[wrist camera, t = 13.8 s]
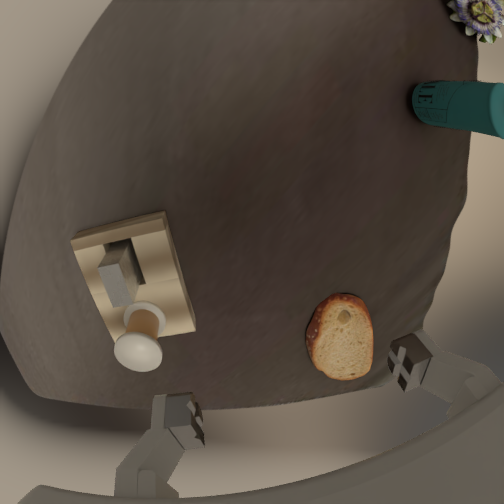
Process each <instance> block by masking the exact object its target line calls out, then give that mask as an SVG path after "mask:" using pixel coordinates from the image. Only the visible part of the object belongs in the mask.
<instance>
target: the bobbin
mask: <svg viewBox="0 0 504 504" xmlns="http://www.w3.org/2000/svg"><path fill="white" fill-rule="evenodd" d="M124 323H125V326H126V327H127V329H126V332H125V333H124V334H122V335H121V336H119V337H118V339H117V340H116V343H115V347H114V354H115V356H116V358H117V360H118V361H119V362H120V363H121V364H122V365H124V366H125V367H127V368H129V369H131V370H134V371H140V372H145V371H151V370H153V369H155V368H157V367H158V366H159V365H160V363H161V361H162V348H161V346H160V344H159V343H158V342H157V338H158V335H160V334H161V333H162V332H163V331H164V329H165V325H166V316H165V313H164V312H163V310H162V309H161V308H160V307H159V306H158V305H156V304H155V303H152V302H150V301H144V300H140V301H135V302H134V304H133V305H129V306H128V307H127V308H126V310H125V313H124Z"/></svg>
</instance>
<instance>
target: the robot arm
mask: <svg viewBox="0 0 504 504" xmlns="http://www.w3.org/2000/svg"><path fill="white" fill-rule="evenodd" d="M390 348H391V352H390V353H389V354H388V358H387V362H388V367H389V370H390V371H391V373H392V375H395V376H397V377H398V380H397V382H398V384H399V385H400V386H401V388H402V390H403V391H404V392H407V391H409V390H411V389H414V388H416V387H418V386H421V387H422V388H424V389H426V390H427V391H429V392H431V393H433V394H435V395H437V396H438V397H440V398H442V399H444V400H446V401H447V402H449V403H451V404H452V405H451V407H450V408H449V410H448V412H447V416H448V418H449V419H448V420H447V421H445V422H443V423H441V424H440V425H438V426H436V427H434V428H432V429H431V430H429V431H427V432H425V433H423V434H421V435H419V436H417V437H416V438H413V439H411V440H409V441H407V442H405V443H403V444H401V445H399V446H397V447H394V448H392V449H390V450H388V451H385V452H383V453H381V454H378V455H376V456H374V457H371V458H368V459H366V460H363V461H361V462H358V463H355V464H352V465H350V466H347V467H344V468H341V469H338V470H335V471H332V472H328V473H326V474H322V475H318V476H315V477H311V478H308V479H304V480H301V481H296V482H293V483H288V484H284V485H279V486H275V487H270V488H265V489H259V490H253V491H247V492H241V493H234V494H226V495H217V496H207V497H193V498H192V497H191V498H179V494H178V492H177V491H176V490H175V489H173V488H172V487H171V486H170V485H169V484H167V481H168V480H169V478H170V476H171V475H172V473H173V471H174V469H175V467H176V466H177V464H178V462H179V460H180V458H181V457H182V455H183V453H184V450H187V449H195V448H203V447H205V440H204V433H203V431H202V429H201V427H202V425H203V417H202V412H201V409H200V406H199V404H198V403H197V402H195V396H194V394H193V392H185V393H176V394H166V395H155V396H154V398H153V407H152V420H151V429H150V430H147V431H146V432H145V433H144V435H143V436H142V437H141V439H140V440H139V441H138V442H137V444H136V445H135V446H134V448H133V449H132V450H131V451H130V452H129V454H128V455H127V456H126V458H125V459H124V460H123V461H122V462H121V464H120V465H119V466H118V467H117V469H116V478H115V490H114V496H105V495H96V494H88V493H82V492H75V491H70V490H64V489H59V488H54V487H50V486H46V485H39V486H37V487H35V488H34V489H32V490H31V491H30V492H29V493H28V494H27V495H26V496H25V497H24V498H23V499H21V500H20V501H19V502H18V504H504V382H503V383H501V382H500V381H499V379H498V378H497V377H496V376H495V375H494V374H493V372H492V371H491V370H490V369H489V368H488V367H487V366H486V365H483V364H481V363H478V362H475V361H472V360H469V359H467V358H464V357H461V356H458V355H455V354H453V353H450V352H447V351H444V352H443V351H442V350H441V349H440V348H439V347H438V346H437V345H436V343H435V342H434V341H433V340H432V339H431V338H430V337H429V335H428V334H427V333H426V332H425V331H424V330H422V329H421V330H418V331H416V332H413V333H410V334H408V335H405V336H403V337H400V338H398V339H395V340H393V341H392V342H391V344H390Z"/></svg>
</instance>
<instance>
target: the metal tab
mask: <svg viewBox="0 0 504 504" xmlns="http://www.w3.org/2000/svg"><path fill="white" fill-rule="evenodd" d="M97 269H98V271H99V274H100V277H101V279H102V282H103V284H104V287H105V289H106V292H107V294H108V297H109V299H110V302H111V304H112V306H113V308H114V307H121V306H127V305H133V304H134V301H135V298H136V294H137V291H138V288H139V285H140V282H141V279H142V275H143V273H142V270H141V267H140V264H139V261H138V258H137V255H136V252H135V249H134V246H133V243H132V240H131V238H127V239H123V240H118V241H114V242H113V243H112V245H111V246H110V248H109V249H108V251H107V253H106V254H105V256H104V257H103V259H102V261H101V262H100V264H99V266H98V267H97Z"/></svg>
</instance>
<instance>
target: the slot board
mask: <svg viewBox="0 0 504 504" xmlns="http://www.w3.org/2000/svg"><path fill="white" fill-rule="evenodd" d="M127 238H131V240H132V243H133V246H134V249H135V252H136V255H137V258H138V261H139V264H140V267H141V270H142V273H143V275H142V279H141V282H140V285H139V288H138V291H137V294H136V298H135V301H140V300H144V301H150V302H152V303H155V304H156V305H158V306H159V307H160V308H161V309H162V310H163V312H164V313H165V316H166V325H165V329H164V331H163V332H162V333H161V334H160V335H158V337H163V336H169V335H175V334H181V333H187V332H193V331H196V326H195V315H194V311H193V308H192V305H191V302H190V298H189V295H188V292H187V289H186V285H185V282H184V278H183V275H182V271H181V268H180V264H179V261H178V257H177V254H176V250H175V246H174V243H173V239H172V235H171V231H170V227H169V223H168V219H167V216H166V211H165V210H164V211H160V212H155V213H151V214H147V215H142V216H138V217H134V218H130V219H126V220H122V221H118V222H114V223H110V224H106V225H102V226H98V227H94V228H90V229H87V230H83V231H79V232H78V233H77V234H76V235H75V236H74V237H73V238H72V239H71V240H70V242H71V245H72V247H73V250H74V253H75V255H76V258H77V261H78V263H79V266H80V268H81V271H82V273H83V275H84V278H85V280H86V283H87V285H88V287H89V290H90V292H91V294H92V296H93V299H94V301H95V303H96V305H97V307H98V309H99V312H100V314H101V316H102V318H103V320H104V322H105V324H106V326H107V328H108V330H109V332H110V334H111V336H112V338H113V340H114V342H115V343H116V340H117V339H118V337H119V336H121V335H122V334H124V333H125V332H126V329H127V327H126V326H125V323H124V313H125V310H126V308H127V307H128V306H129V305H127V306H121V307H114V308H113V306H112V304H111V302H110V299H109V297H108V294H107V292H106V289H105V287H104V284H103V282H102V279H101V277H100V274H99V271H98V269H97V267H98V266H99V264H100V262H101V261H102V259H103V257H104V256H105V254H106V253H107V251H108V249H109V248H110V246H111V245H112V242H114V241H118V240H123V239H127ZM135 301H134V302H135Z"/></svg>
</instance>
